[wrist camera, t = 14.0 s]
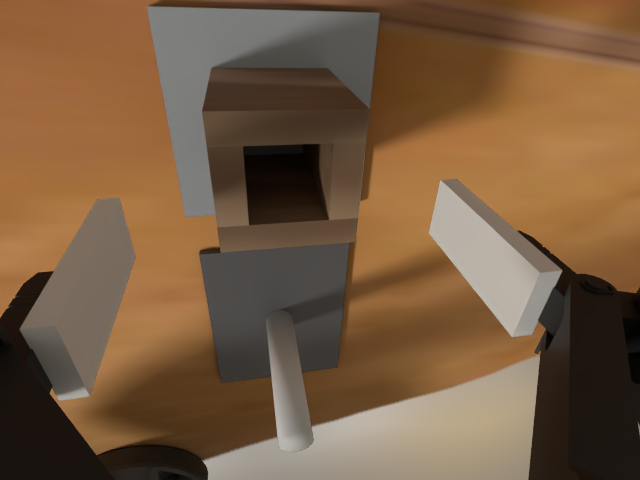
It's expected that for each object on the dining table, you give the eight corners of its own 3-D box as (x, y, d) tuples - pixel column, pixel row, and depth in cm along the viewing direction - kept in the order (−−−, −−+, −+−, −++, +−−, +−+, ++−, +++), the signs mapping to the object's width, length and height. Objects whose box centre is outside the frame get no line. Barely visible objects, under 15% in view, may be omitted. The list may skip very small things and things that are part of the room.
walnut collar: (323, 172, 28) (355, 242, 21) (223, 176, 27) (220, 252, 19) (327, 67, 24) (369, 108, 17) (211, 67, 23) (201, 111, 16)
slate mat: (357, 202, 31) (359, 206, 30) (186, 212, 28) (185, 216, 28) (376, 12, 23) (379, 13, 23) (148, 5, 21) (146, 6, 21)
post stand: (336, 363, 41) (368, 482, 32) (221, 378, 39) (218, 511, 30) (347, 239, 33) (397, 352, 23) (199, 250, 30) (184, 380, 21)
